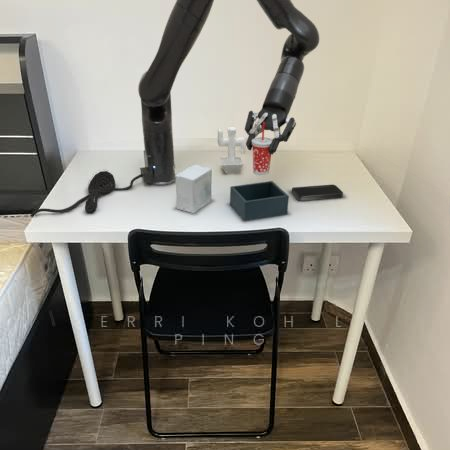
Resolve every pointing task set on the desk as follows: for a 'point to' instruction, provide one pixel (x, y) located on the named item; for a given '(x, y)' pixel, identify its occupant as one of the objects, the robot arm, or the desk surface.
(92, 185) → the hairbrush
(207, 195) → the cosmetics box
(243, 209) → the tub
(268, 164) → the beverage cup
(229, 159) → the figurine
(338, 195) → the phone
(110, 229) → the desk surface
